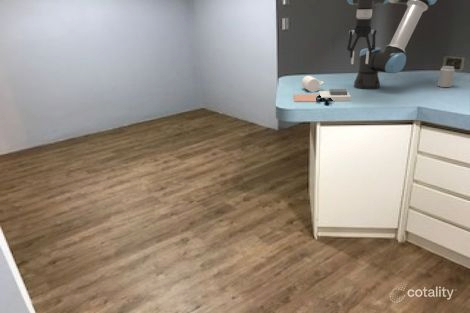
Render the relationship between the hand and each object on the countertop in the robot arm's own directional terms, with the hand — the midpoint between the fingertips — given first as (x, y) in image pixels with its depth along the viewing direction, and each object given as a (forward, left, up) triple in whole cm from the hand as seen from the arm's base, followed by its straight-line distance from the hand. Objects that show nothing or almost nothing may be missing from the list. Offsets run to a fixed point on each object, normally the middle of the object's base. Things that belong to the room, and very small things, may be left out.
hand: (359, 63), depth 199 cm
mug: (+22, -20, -19) cm, 35 cm away
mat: (+27, 0, -19) cm, 33 cm away
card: (+10, 0, -17) cm, 19 cm away
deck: (+12, 0, -19) cm, 22 cm away
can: (-56, -25, -19) cm, 64 cm away
